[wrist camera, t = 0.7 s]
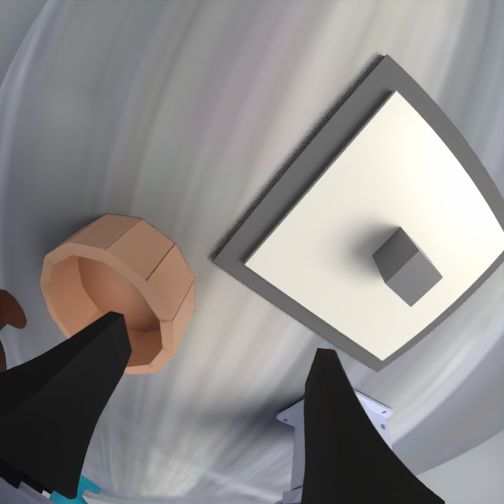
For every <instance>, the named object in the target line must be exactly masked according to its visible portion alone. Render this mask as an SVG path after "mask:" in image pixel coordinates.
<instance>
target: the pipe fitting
mask: <svg viewBox="0 0 504 504" xmlns="http://www.w3.org/2000/svg"><path fill="white" fill-rule="evenodd" d="M85 489H86V490H88V491H90V492H93V493H96V494H99V491H100V488H99V487H98V486H97V485H95V484H94V483H92V482H91V481H89V480H88V479H86V478H84V477H83V476H81V475H80V480H79V486H78V492H77V498H75V499H71V500H69V499H67V498H65V497H64V496H62V495H60V494H58V493H57V492H55V491H53V493H52V494H51V495H50V498H49V499H50V500H51V501H53V502H55V503H56V504H87V502H86V501H85V500H84V499H83V497H82V495H83V492H84V490H85Z"/></svg>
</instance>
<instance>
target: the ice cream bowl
mask: <svg viewBox="0 0 504 504" xmlns="http://www.w3.org/2000/svg"><path fill="white" fill-rule="evenodd" d="M26 322H27V321H26V318H25V315H24V312H23V310H22V308H21V307H20V306H19V304H18V303H17V301H16V300H15V298H14V297H12V296H11V295H10V294H9V293H8V292H7V291H6V290H0V330H1V329H2V328H3V327H4V326H5V325H6V324H9V325H11V326H13V327H15V328H20V329H22V328H24V327H25V325H26ZM6 369H7V367H6V356H5V352H4V348H3V345H2V343H1V340H0V372H3V371H6Z"/></svg>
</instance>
